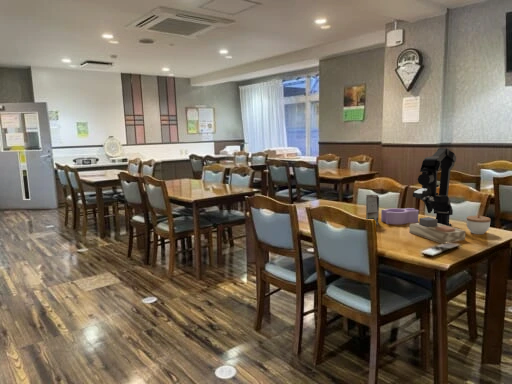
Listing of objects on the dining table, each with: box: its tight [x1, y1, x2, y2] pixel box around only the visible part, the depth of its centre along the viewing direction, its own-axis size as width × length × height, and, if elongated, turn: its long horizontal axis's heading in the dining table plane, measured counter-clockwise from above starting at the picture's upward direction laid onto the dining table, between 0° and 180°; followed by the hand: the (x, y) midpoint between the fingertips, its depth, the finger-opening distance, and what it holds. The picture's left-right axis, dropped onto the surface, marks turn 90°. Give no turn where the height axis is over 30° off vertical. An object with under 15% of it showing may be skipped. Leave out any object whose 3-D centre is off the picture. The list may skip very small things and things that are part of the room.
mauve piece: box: [380, 207, 420, 225], centre depth 225 cm, size 20×12×7 cm, turn 96°
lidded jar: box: [465, 214, 492, 235], centre depth 197 cm, size 11×11×9 cm
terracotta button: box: [436, 225, 456, 232], centre depth 189 cm, size 6×6×4 cm
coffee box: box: [365, 194, 380, 226], centre depth 223 cm, size 9×6×16 cm
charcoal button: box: [418, 216, 438, 227], centre depth 199 cm, size 6×6×4 cm
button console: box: [408, 222, 466, 244], centre depth 194 cm, size 14×22×4 cm, turn 19°
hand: (429, 212), depth 197 cm, fingers closed
